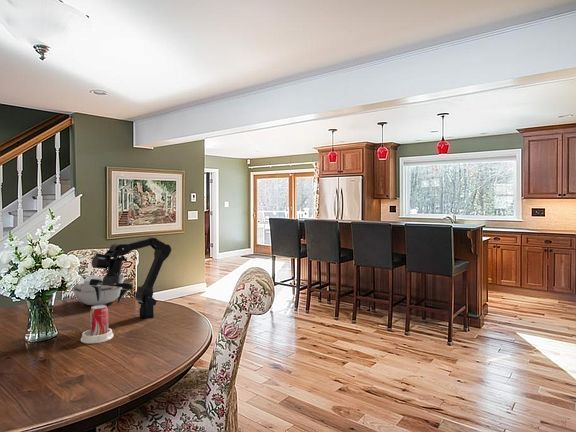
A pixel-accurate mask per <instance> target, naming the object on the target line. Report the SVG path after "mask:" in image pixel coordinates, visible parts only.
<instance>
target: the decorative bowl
mask: <svg viewBox="0 0 576 432" xmlns="http://www.w3.org/2000/svg"><path fill="white" fill-rule="evenodd" d="M105 276H106V274H104V275H103V276H102V275H100V276H99V275H96V274H90V275H88V276H87V277H86V278H83V277H80V278H81V280H80V282H78V283H77V284H76V285H75V286H74V287H73V288H72V289H71V290H73V294H74V296H75V298H76V300H77V301H78V302H79V303H82V304H85V305H88V306H95V305H107V304H109V303H112V302H114V301H115V300H118V299H119V295H120V290H121V289H122V287H116V286H107V285H105V286H104V285H100V286H102V287H101V293H100V299H99V301H97V295H96V291H95V289H94V287H92V286H93V285H89V282H90V280H91V279H102V281H103V278H104V277H105ZM124 279H125V276H124V274H123V273H120V280H119V283H122V284H123V283H124V281H125V280H124Z"/></svg>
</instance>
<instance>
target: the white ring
mask: <svg viewBox="0 0 576 432" xmlns="http://www.w3.org/2000/svg"><path fill="white" fill-rule="evenodd" d="M113 338H114V333H113V329H112V328H109V327H108V333H106V334H102V335H97V336H91V328H90V329H87V330H86V331H83V332H82V333H81V338H80V342H81V343H83V344H93V345H94V344H99V343H104V342H107V341H110V340H112V339H113Z"/></svg>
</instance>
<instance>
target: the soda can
mask: <svg viewBox="0 0 576 432" xmlns="http://www.w3.org/2000/svg"><path fill="white" fill-rule="evenodd" d="M89 311H90V313H89V314H90V315H89V316H90V318H89V320H90V322H89V323H90V329H91V336H97V335H102V334H106V333H108V328H109V309H108V307H107V304H103V305H91V308H90V310H89Z"/></svg>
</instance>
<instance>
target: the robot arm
mask: <svg viewBox="0 0 576 432" xmlns="http://www.w3.org/2000/svg"><path fill="white" fill-rule="evenodd" d="M146 247H151V249H153V250H154V252H153V255H154V256H153V257H154V259H153V261H152V263H151V267H150V268H149V271H148V272H147V275H146V278H145V280H144V282H143V284H142V285H141V286H140V285H138V286H137V288H136V291H135V292H134V295H135V296H134V298H135V301H136V302H137V303H138V305H140V307H139V308H138V309H139V317H140V318H139V319H149V318H154V317H155V306H156V305H157V300H156V299H155V298H154V296H153V295H154V286H155V283H156V281H157V278H158V276H159V273H160V271H161V268H162V266H163V264H164V262H165V261H166V260H167V258H169V256H170V254H171V252H172V248H171V247H172V246H171V245H169V244H167V243H165V242H164V241H161V240H159V239H158V238H157V237H154V236H148V237H146V238H141V239H138V240H134V241H130V242H118V243H113V244H111V245H110V247H109V249H108V250H106V252H105V253H104V254H101V253H95V255H94V256H93V258H92V259H91V267H92V268H93V269H103V270H107V271H106V273H105V275H106V276H105V277H104V278H103V281H102V279H91V280H90V282H89V285H93V286H92V287H94V289H95V291H96V295H97V301H99V299H100V293H101V287H102V286H100V285H104V286H105V285H107V286H116V287H122V289H121V290H120V295H119V296H118V298H117V304H120V302H121V301H122V299H123V297H124V295H125V294H126V292H129V291H130V290H132V289H133V288H134V287H133V286H134V284H133V282H126V281H125V282H124V281H123V284H122V283H119V280H120V275H121V274H122V273H121V271H122V266H123V262H127V261H128V260H127V259H126V258H125V257H126V255H127V254H129V253H130V252H132V251H135V250H139V249H143V248H146Z"/></svg>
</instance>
